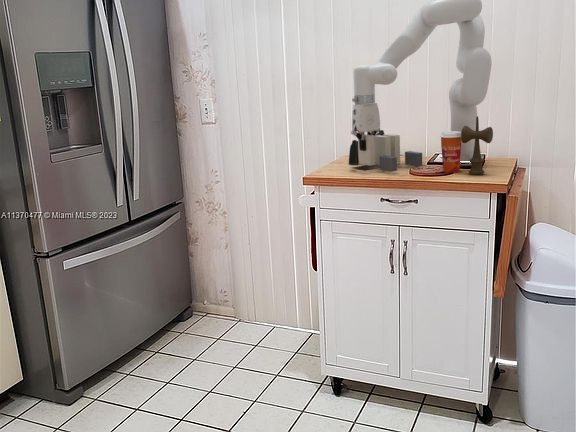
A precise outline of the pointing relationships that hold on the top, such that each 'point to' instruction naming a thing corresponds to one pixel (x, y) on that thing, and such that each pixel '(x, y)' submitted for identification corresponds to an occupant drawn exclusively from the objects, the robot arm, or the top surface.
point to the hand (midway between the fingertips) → (366, 149)
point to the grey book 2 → (413, 158)
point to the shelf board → (367, 167)
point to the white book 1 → (367, 151)
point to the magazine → (354, 150)
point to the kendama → (476, 145)
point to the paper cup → (451, 151)
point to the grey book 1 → (388, 163)
